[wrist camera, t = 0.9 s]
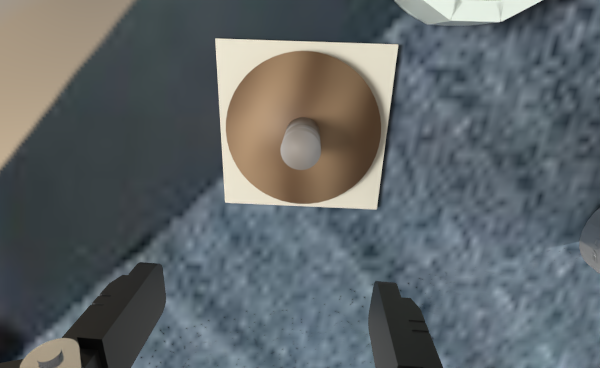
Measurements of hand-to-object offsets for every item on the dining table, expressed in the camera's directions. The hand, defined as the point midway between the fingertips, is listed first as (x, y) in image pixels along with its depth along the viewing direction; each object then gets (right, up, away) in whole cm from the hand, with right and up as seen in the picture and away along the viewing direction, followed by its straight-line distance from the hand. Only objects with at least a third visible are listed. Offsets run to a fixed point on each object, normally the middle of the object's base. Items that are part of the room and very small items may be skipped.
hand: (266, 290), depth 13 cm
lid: (+2, +9, +18) cm, 20 cm away
